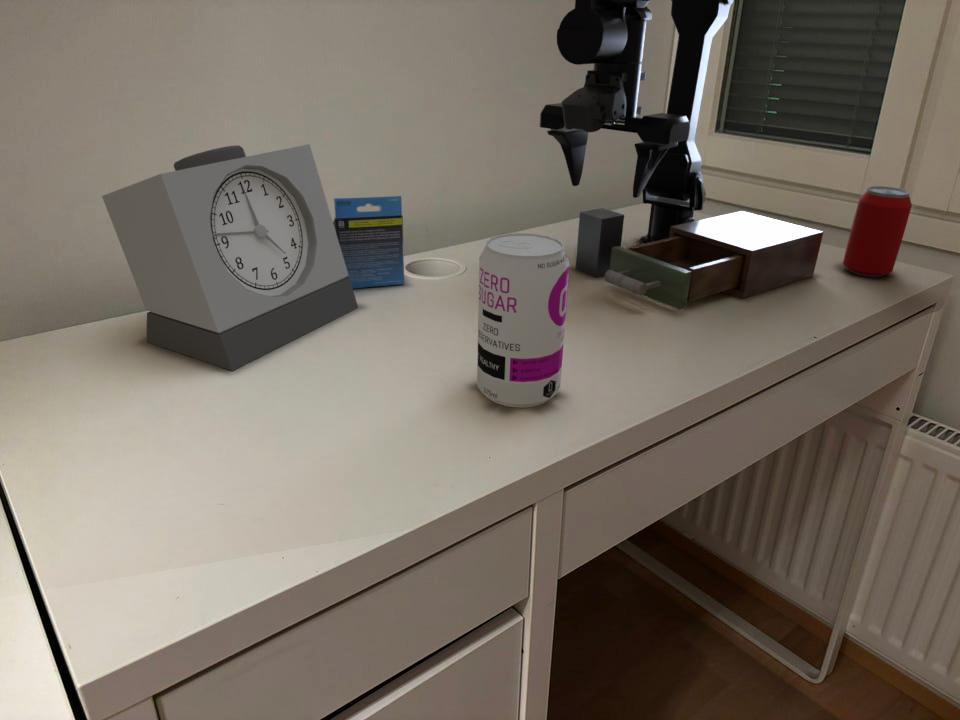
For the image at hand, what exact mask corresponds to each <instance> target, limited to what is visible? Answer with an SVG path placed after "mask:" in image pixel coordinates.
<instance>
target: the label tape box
mask: <svg viewBox="0 0 960 720" xmlns="http://www.w3.org/2000/svg"><path fill="white" fill-rule="evenodd" d="M333 203H334V219H333V220H332V221H333V224H334V228H335V231H336V235H337V238H338V241H339V245H340V248H341V251H342V255H343V258H344V261H345V265H346V268H347V272H348V275H349V276H347V277H348V278H350V281H351V285H352V288H353V290H354V289H355V290H356V289H365V288H371V287H385V286H396V285H397V286H398V285H399V286H400V285H405V259H404V257H405V255H404V254H405V253H404V252H405V251H404V250H405V249H404V216H403V209H402V208H403V205H402V203H403V202H402V195H394V196H392V195H391V196H390V195H389V196H361V197H334V198H333ZM367 205H370V206H371V207H377V208H379V209H378V210H368V211H367V210H365V211H364V210H363V211H359V210H358V208H361V207H362V208H363V207H366V206H367Z"/></svg>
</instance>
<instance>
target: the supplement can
mask: <svg viewBox="0 0 960 720" xmlns="http://www.w3.org/2000/svg"><path fill="white" fill-rule="evenodd" d="M485 243H486V245H485V246H484V248H483V250H482V252H481V254H480V255H479V257H478V266H479V267H478V305H477V306H478V307H477V308H478V310H477V311H478V313H477V314H478V315H477V361H476V362H477V365H476V366H477V367H476V370H477V372H476V383H477V384H476V385H477V386H476V387H477V388H478V390H479V391H480V392H481V394H483V395H484V396H485V398H487V399H488V400H490V401H491V402H493V403H495V404H497V405H500V406H504V407H508V408H518V409H522V408H523V409H524V408H534V407H537V406H541V405H543V404H545V403H547V402H548V401H549V400H551V399H552V398H553V397H554V396H556V395H558V392H559V391H560V389H561V384H562V383H561V381H562V371H563V369H562V368H563V356H564V355H563V354H564V343H565V329H566V318H567V314H566V313H567V305H568V304H567V303H568V292H569V291H568V290H569V277H570V265H571V264H570V261H569V258H568V256H567V253H566V252H565V245H564V243H563V242H562V241H561V240H559V239H557V238H555V237H551V236H548V235H544V234H538V233H529V232H528V233H527V232H515V233H514V232H512V233H511V232H510V233H505V234H498V235H495V236H492V237H490V238H489V239H487V241H485Z"/></svg>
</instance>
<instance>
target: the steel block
mask: <svg viewBox="0 0 960 720" xmlns="http://www.w3.org/2000/svg"><path fill="white" fill-rule="evenodd" d="M624 223H625V214H624V213H620V212H616V211H614V210H611V209H607V208H603V207H600V208H595V209H589V210H584V211H580V212H579V219H578V231H577V232H578V233H577V244H576V257H575V270H577V271H578V272H580V273H583V274H585V275H588V276H591V277H593V278H595V279H597V278H601V277H604V275H605V273H606V272H607V271H608V270H610V262H611V252H612V247H615V246H620V247H622V239H623V230H624Z"/></svg>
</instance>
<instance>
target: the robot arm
mask: <svg viewBox="0 0 960 720" xmlns="http://www.w3.org/2000/svg"><path fill="white" fill-rule="evenodd" d="M650 1H651V0H575V1H574V8H572V9H571V10H570V11H568V12H567V13H566V14H565V15H564V16H563V18H562V20H561V21H560V24H559V27H558V29H557V31H556V44H557V45H556V46H557V48H558V51H559V53H560V56H561V57H562V58H563V59H564V60H565V61H566V62H568V63H570V64H573V65H577V66H578V65H579V66H582V65H592V64H593V69H590V70H587V72H586V75H585V81H584V84H583V87H581V88H578V89H576V90H575V91H573V92H572V93H570V95H568V96H566V98H564V99H563V100H562V101H561V102H558V103H549V104H545V105H544V107H543V108H542V110H541V112H540V113H539V128H540V129H541V128H542V129H548V130H547V131H546V133H547V135H548V136H552V137H553V138H554V139H555V141H556V142H558V143H559V145H560V147H561V150H562V153H563V156H564V159H565V161H566V162H565V163H566V167H567V170H568V174H569V178H570V181H571V185H572V186H573V187H577V186H580V183H581V179H582V175H583V170H584V163H585V157H586V151H587V145H588V138H589V133H595V132H599V131H600V130H609V131H610V130H611V131H616V132H617V131H618V132H624V133H625V132H627V133H634V134H637V136H638V137H639V139H640V140H641V142H637V143H634V148H635V151H636V155H637V158H636V163H635V171H634V176H633V177H634V178H633V182H632V183H633V184H632V198H635V199H637V198H639V197H641V195H642V203H643V204H645V205H650V206H651V207H650V213H649V220H648V226H647V227H648V229H647V234H646V235H642V236H640V241H643V242H646V243H649V242H653V241H658V240H662V239H666V238H669V235H670V227H671V226H675V225H679V224H684V223H689V222H693V221H696V219H695V217H694V212H695V211H703V209H704V203H705V202H706V196H707V191H706V188H705V187H706V186H705V183H704V179H703V175H702V172H701V168H702V157H701V155H700V152H699V149H698V147H697V145H696V142H695V140H696V132H697V127H698V121H699V115H700V111H701V110H700V109H701V103H702V99H703V93H704V87H705V81H706V76H707V70H708V64H709V58H710V53H711V47H712V42H713V38H714V36H715V35H716V34H717V33H718V31H719V30H720V29H721V27H722V26H723V25H724V23H725V22H726V21H727V19H728V18H729V14H730V13H729V12H730V8H731V5H732V4H733V3H734V1H735V0H670V2H671V7H670V8H671V9H670V16H671V19H672V21H673V24H674V26H675V29H676V31H677V34H678V40H677V45H676V52H675V56H674V57H675V59H674V64H673V71H672V76H671V83H670V89H669V96H668V101H667V109H666V113H665V112H660V113H652V114H647V115H643V116H642V110H643V106H640V105H638V99H639V91H640V83H641V81H646V75H647V71H646V70H642V65H643V57H644V49H645V40H646V30H647V21H652V19H653V14H652V11H651V10H650V9H649V8H648V6H647V5H648V3H649V2H650ZM638 116H639V117H638ZM640 116H642V117H640Z"/></svg>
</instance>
